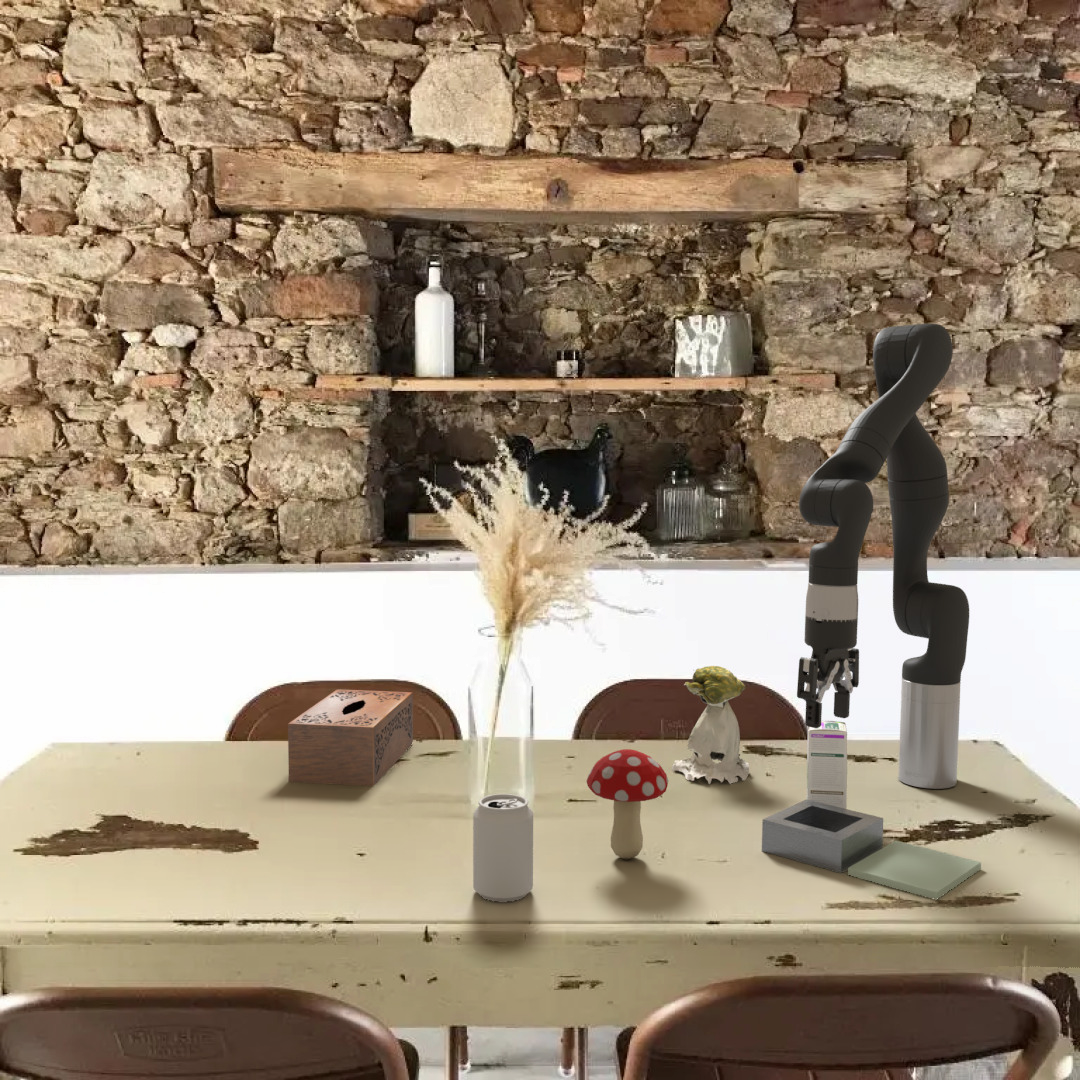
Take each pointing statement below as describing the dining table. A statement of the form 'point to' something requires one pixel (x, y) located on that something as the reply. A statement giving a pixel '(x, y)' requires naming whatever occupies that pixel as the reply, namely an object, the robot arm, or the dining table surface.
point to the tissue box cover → (350, 737)
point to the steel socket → (822, 835)
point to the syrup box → (827, 764)
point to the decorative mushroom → (627, 794)
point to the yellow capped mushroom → (714, 729)
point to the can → (503, 847)
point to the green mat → (915, 869)
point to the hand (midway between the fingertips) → (827, 722)
